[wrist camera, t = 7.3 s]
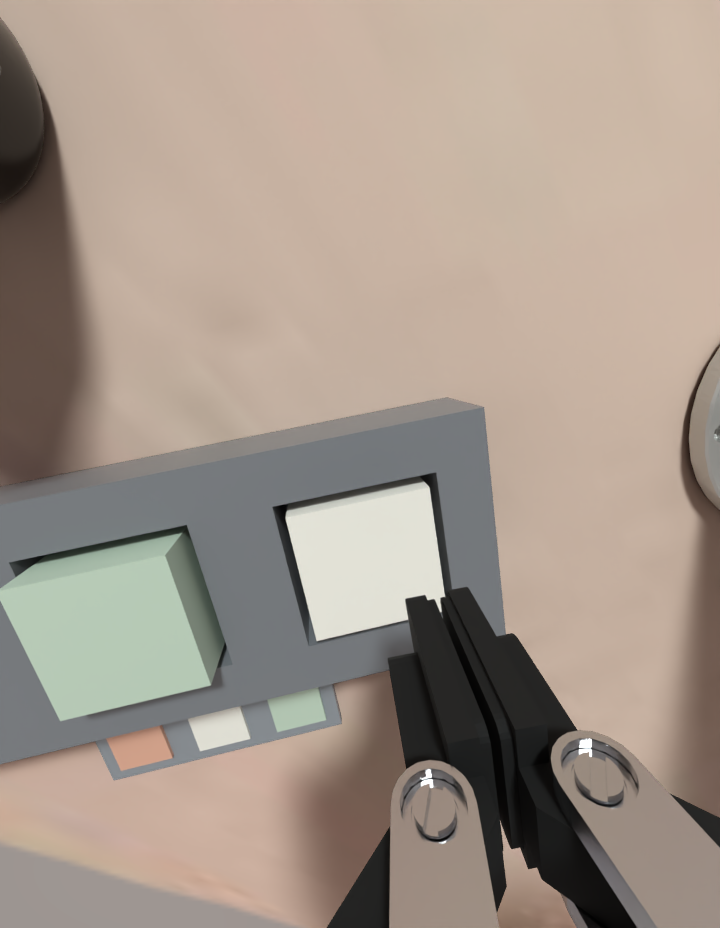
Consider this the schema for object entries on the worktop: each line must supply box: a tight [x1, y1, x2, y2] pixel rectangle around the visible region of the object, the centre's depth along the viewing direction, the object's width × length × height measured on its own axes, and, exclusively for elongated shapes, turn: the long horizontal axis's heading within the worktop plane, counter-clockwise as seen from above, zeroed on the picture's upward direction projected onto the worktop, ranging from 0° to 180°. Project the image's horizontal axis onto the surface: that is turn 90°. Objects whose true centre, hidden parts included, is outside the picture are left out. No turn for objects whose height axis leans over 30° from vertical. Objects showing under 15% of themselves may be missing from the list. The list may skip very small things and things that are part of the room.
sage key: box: [0, 525, 225, 721], centre depth 14 cm, size 5×5×3 cm
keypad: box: [0, 398, 506, 764], centre depth 16 cm, size 28×10×4 cm, turn 100°
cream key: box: [286, 476, 445, 641], centre depth 16 cm, size 5×5×3 cm
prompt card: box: [95, 684, 342, 780], centre depth 20 cm, size 12×4×1 cm, turn 100°
